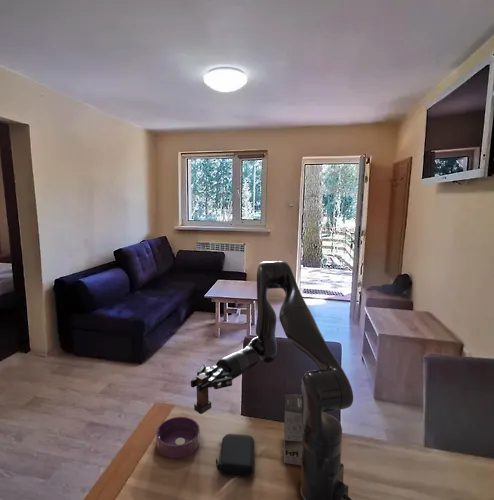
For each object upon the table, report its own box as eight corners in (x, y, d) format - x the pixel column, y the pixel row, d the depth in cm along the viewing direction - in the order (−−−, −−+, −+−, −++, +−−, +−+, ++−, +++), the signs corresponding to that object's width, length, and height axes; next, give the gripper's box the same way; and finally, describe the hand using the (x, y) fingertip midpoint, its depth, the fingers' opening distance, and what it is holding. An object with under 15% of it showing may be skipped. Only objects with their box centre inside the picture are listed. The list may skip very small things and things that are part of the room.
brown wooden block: (204, 403, 108) (203, 371, 106) (211, 408, 106) (210, 375, 104) (194, 410, 105) (193, 377, 103) (201, 414, 102) (200, 381, 101)
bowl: (208, 443, 103) (208, 429, 102) (175, 467, 94) (174, 453, 93) (181, 423, 112) (181, 411, 111) (148, 444, 102) (147, 431, 102)
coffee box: (307, 466, 93) (308, 413, 91) (283, 463, 95) (284, 411, 92) (305, 443, 102) (307, 394, 100) (284, 440, 103) (285, 392, 101)
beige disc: (187, 443, 102) (187, 441, 102) (179, 448, 100) (179, 446, 100) (180, 438, 104) (180, 436, 104) (173, 443, 102) (173, 441, 102)
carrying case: (220, 439, 104) (213, 478, 90) (219, 430, 104) (213, 468, 89) (254, 441, 103) (253, 481, 89) (254, 432, 103) (253, 471, 88)
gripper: (218, 348, 118) (180, 367, 106) (249, 362, 108) (210, 383, 96) (218, 368, 119) (180, 388, 107) (249, 383, 110) (211, 407, 97)
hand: (195, 386), depth 102 cm, fingers closed on brown wooden block, 2 cm apart
